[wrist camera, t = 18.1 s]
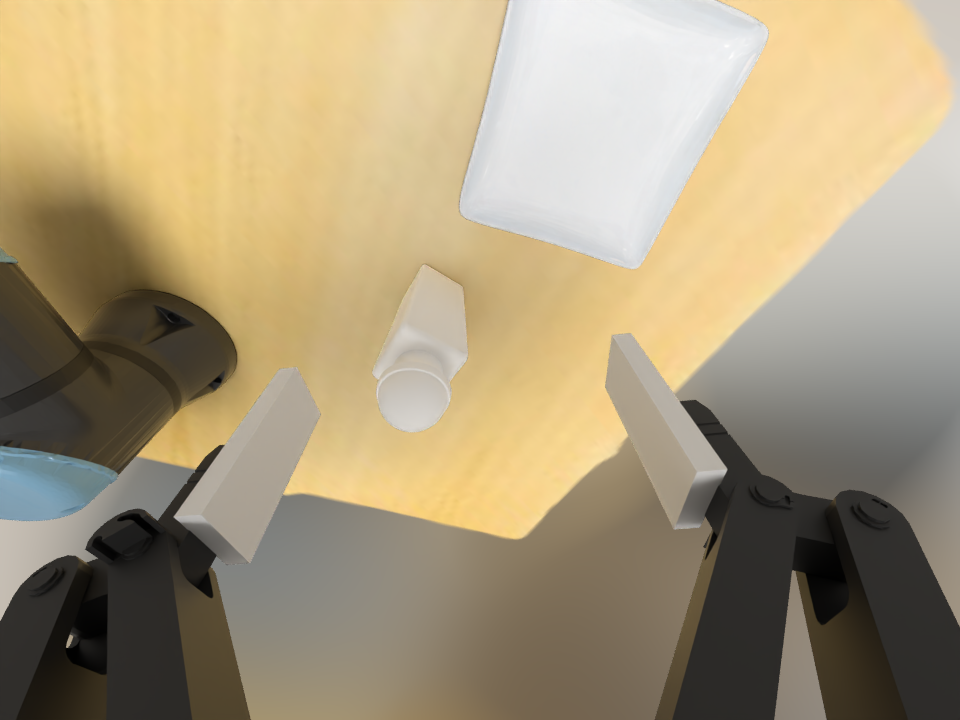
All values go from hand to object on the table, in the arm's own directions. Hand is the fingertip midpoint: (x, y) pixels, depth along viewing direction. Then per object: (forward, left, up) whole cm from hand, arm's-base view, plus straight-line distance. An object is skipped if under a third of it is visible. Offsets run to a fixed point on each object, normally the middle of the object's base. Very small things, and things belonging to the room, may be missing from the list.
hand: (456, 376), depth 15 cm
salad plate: (+13, +6, -29) cm, 33 cm away
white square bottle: (-5, -9, -29) cm, 31 cm away
